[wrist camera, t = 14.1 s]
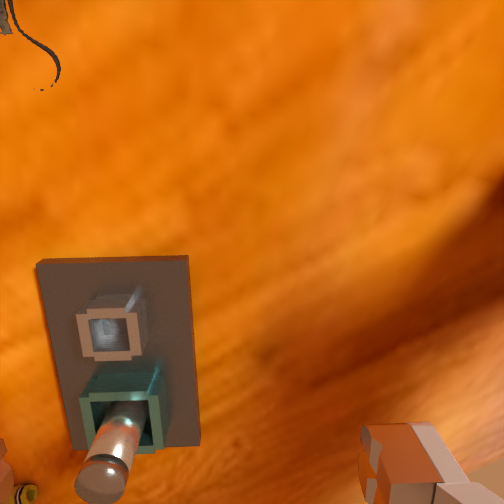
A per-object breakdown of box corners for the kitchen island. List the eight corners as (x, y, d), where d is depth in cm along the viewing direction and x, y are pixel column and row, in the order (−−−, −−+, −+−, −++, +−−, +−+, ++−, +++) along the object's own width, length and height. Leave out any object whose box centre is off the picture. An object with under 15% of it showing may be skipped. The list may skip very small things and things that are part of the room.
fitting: (148, 387, 41) (121, 467, 31) (152, 418, 42) (126, 504, 33) (109, 388, 41) (70, 469, 31) (114, 419, 42) (78, 506, 33)
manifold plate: (188, 255, 38) (181, 271, 34) (201, 435, 45) (196, 468, 41) (43, 258, 38) (18, 275, 33) (78, 440, 45) (61, 473, 40)
